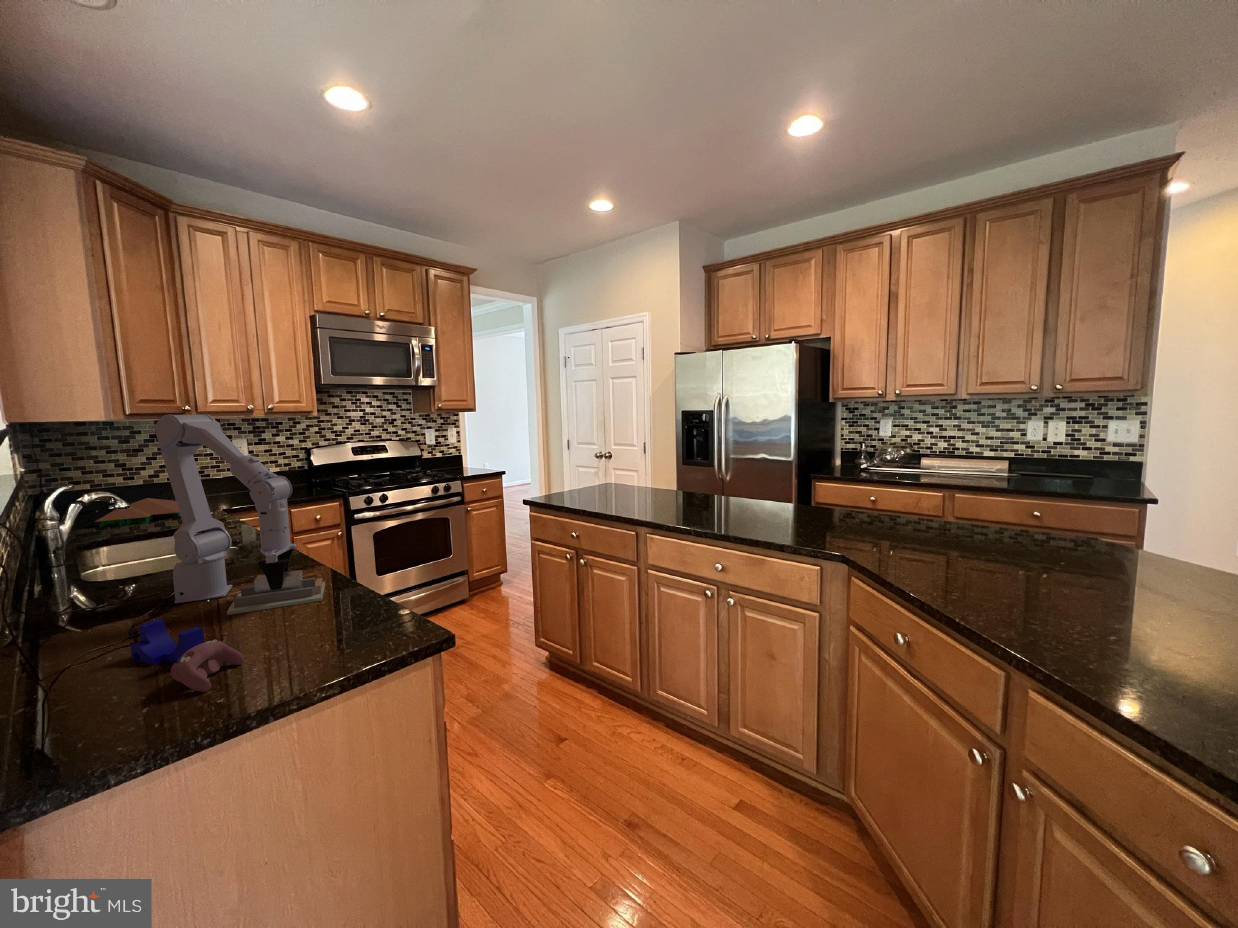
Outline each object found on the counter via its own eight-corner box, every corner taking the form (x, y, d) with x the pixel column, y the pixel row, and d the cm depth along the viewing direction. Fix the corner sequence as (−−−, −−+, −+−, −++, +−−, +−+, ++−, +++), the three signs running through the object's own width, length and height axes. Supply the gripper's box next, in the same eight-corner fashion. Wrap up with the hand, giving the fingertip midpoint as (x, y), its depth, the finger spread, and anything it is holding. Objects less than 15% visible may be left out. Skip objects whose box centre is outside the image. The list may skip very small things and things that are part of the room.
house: (190, 508, 226) (188, 490, 225) (176, 522, 198) (174, 502, 197) (121, 514, 213) (118, 495, 212) (96, 529, 186) (93, 508, 185)
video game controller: (225, 671, 89) (203, 639, 88) (248, 659, 89) (227, 627, 88) (183, 704, 79) (157, 668, 78) (209, 690, 79) (184, 654, 78)
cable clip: (132, 660, 90) (128, 629, 89) (161, 649, 94) (158, 619, 93) (177, 671, 86) (174, 638, 85) (205, 658, 90) (202, 627, 90)
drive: (255, 601, 114) (254, 580, 114) (259, 595, 118) (257, 575, 117) (301, 594, 118) (300, 574, 118) (303, 589, 122) (301, 570, 121)
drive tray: (227, 615, 109) (226, 602, 108) (239, 596, 119) (238, 585, 119) (321, 600, 117) (320, 589, 117) (325, 584, 128) (324, 574, 127)
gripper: (290, 533, 112) (294, 590, 113) (298, 520, 124) (302, 572, 126) (252, 536, 108) (257, 596, 110) (264, 523, 121) (268, 576, 123)
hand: (278, 583), depth 118 cm, fingers open, 7 cm apart
